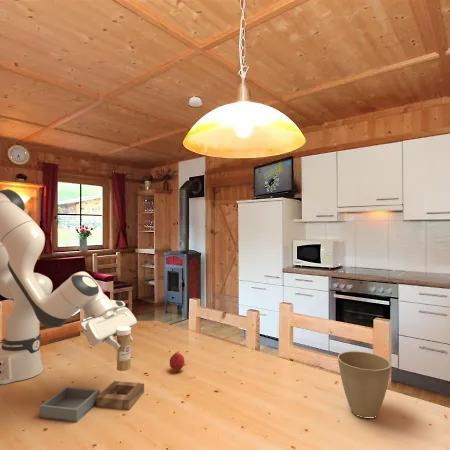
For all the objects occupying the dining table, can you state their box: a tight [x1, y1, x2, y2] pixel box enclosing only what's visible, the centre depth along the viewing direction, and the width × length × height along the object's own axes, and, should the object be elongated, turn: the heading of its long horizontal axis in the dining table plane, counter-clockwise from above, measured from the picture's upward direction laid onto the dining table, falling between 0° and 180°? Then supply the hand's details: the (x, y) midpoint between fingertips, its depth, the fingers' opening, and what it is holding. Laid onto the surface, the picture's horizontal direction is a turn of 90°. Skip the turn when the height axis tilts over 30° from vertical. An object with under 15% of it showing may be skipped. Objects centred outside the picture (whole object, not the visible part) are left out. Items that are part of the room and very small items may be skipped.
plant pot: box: [337, 350, 392, 417], centre depth 99 cm, size 15×15×16 cm
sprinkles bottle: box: [116, 326, 132, 372], centre depth 107 cm, size 5×5×14 cm
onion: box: [169, 350, 185, 373], centre depth 127 cm, size 6×6×8 cm
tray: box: [39, 386, 101, 423], centre depth 100 cm, size 12×12×4 cm
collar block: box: [95, 380, 145, 411], centre depth 106 cm, size 11×11×3 cm
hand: (125, 345), depth 107 cm, fingers closed on sprinkles bottle, 4 cm apart
